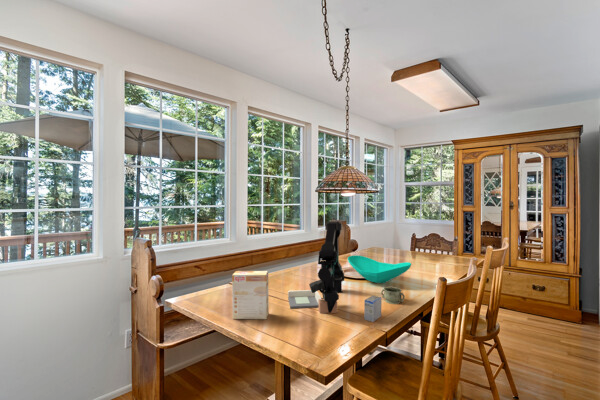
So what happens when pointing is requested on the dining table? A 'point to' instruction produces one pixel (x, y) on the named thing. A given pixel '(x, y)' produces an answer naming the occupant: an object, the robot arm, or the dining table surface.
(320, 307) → the terracotta block
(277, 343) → the dining table surface
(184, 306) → the dining table surface
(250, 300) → the coffeecake box
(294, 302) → the tray
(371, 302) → the medicine box
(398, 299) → the vessel
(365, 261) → the table top decor
